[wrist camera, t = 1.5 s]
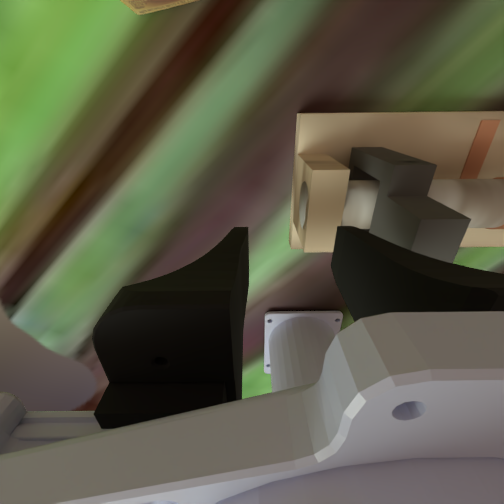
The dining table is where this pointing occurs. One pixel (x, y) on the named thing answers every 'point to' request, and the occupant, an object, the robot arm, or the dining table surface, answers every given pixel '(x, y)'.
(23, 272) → the dining table surface
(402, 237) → the dark grey z bracket
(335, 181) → the pipe stand
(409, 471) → the robot arm
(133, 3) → the candy box
